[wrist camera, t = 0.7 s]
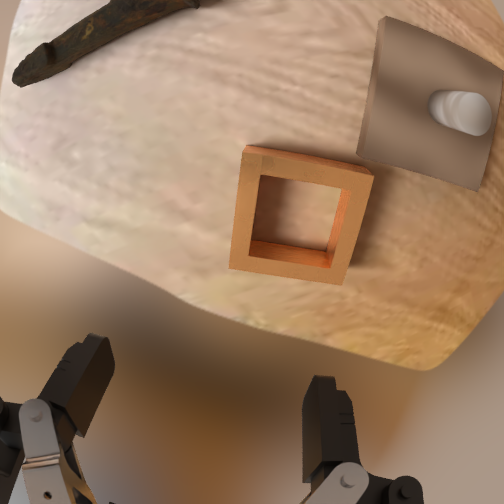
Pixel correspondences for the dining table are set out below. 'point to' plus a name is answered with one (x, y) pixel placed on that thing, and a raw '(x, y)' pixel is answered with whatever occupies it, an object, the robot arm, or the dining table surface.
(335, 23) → the dining table surface
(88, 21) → the hand tool
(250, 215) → the link
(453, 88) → the keeper
